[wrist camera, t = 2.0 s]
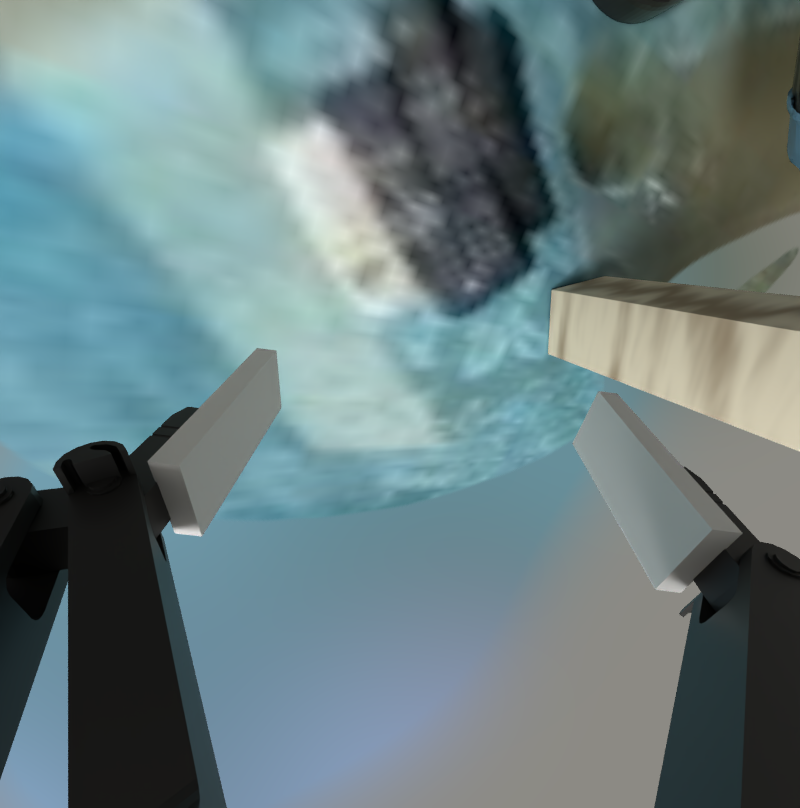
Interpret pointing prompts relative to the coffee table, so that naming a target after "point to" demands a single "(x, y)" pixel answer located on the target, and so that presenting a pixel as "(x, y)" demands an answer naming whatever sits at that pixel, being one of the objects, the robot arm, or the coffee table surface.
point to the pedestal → (689, 347)
